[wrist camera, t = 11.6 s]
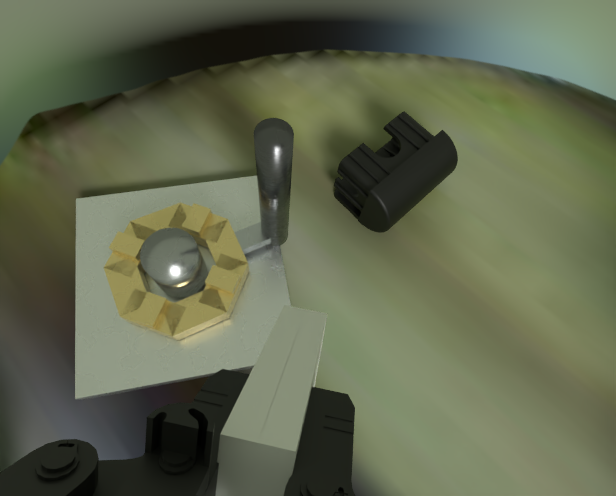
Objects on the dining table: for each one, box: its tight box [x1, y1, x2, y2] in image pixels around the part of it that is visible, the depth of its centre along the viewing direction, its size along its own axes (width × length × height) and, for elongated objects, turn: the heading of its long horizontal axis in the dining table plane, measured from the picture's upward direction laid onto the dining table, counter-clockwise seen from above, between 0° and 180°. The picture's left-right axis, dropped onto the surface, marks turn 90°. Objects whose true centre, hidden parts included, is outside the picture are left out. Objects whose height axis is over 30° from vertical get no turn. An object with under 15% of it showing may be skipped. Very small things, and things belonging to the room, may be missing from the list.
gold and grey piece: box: [103, 118, 294, 340], centre depth 31 cm, size 16×11×15 cm
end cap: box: [334, 112, 458, 232], centre depth 41 cm, size 10×7×7 cm
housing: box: [75, 176, 291, 400], centre depth 36 cm, size 18×18×6 cm
